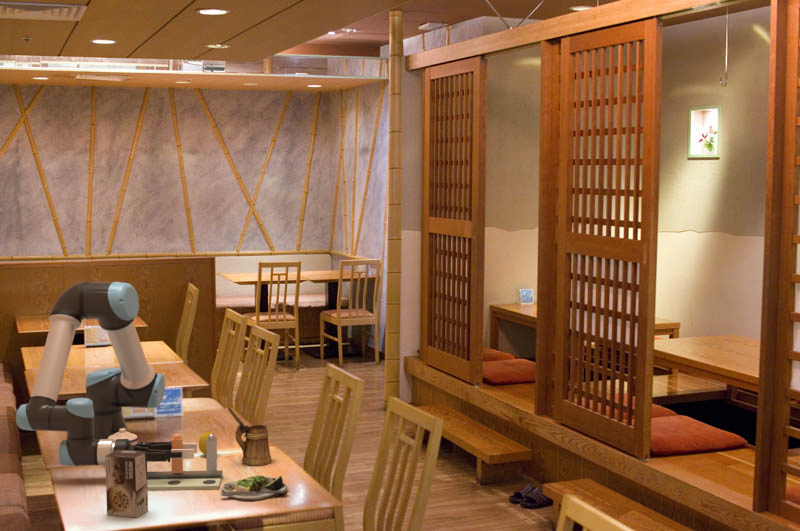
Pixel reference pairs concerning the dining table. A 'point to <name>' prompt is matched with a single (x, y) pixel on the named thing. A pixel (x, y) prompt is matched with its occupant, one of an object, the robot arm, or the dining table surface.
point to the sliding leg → (177, 444)
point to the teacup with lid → (125, 436)
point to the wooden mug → (253, 443)
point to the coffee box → (126, 483)
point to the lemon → (203, 442)
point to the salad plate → (254, 488)
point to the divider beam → (208, 474)
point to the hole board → (183, 484)
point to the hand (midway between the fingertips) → (195, 450)
